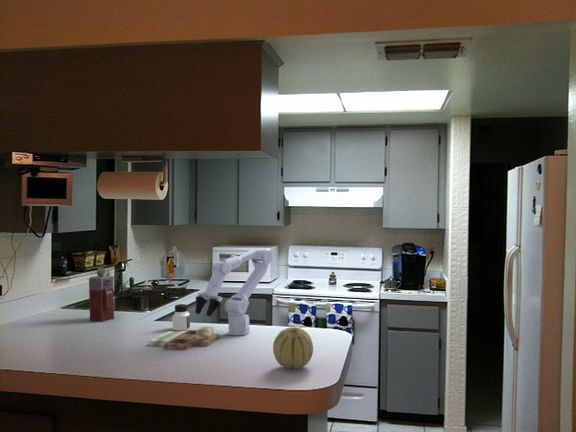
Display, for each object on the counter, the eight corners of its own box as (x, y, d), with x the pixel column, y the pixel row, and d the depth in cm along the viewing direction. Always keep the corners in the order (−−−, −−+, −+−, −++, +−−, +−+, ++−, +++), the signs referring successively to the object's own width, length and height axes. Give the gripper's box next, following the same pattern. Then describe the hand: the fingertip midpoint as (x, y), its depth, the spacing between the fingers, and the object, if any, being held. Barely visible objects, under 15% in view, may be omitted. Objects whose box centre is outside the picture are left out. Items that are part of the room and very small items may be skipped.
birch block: (213, 335, 230) (213, 326, 230) (208, 339, 224) (208, 330, 224) (201, 335, 231) (200, 326, 231) (195, 338, 225) (195, 329, 225)
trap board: (223, 335, 240) (223, 330, 240) (202, 350, 214) (202, 345, 214) (171, 333, 245) (170, 329, 245) (144, 348, 219) (144, 343, 219)
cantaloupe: (297, 359, 197) (296, 320, 197) (322, 368, 185) (321, 326, 185) (264, 367, 188) (264, 326, 188) (289, 377, 176) (288, 333, 176)
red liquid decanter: (106, 322, 275) (104, 269, 274) (89, 320, 279) (88, 268, 279) (117, 318, 283) (116, 267, 283) (101, 317, 287) (100, 266, 287)
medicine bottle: (187, 330, 251) (186, 305, 251) (172, 330, 251) (172, 305, 251) (190, 327, 258) (189, 303, 258) (176, 327, 258) (175, 303, 258)
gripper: (197, 281, 235) (185, 309, 230) (219, 284, 226) (207, 313, 221) (208, 287, 240) (196, 314, 235) (229, 290, 230) (218, 319, 225)
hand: (202, 314), depth 228 cm, fingers open, 7 cm apart
